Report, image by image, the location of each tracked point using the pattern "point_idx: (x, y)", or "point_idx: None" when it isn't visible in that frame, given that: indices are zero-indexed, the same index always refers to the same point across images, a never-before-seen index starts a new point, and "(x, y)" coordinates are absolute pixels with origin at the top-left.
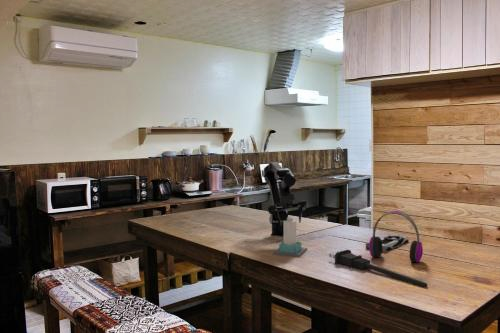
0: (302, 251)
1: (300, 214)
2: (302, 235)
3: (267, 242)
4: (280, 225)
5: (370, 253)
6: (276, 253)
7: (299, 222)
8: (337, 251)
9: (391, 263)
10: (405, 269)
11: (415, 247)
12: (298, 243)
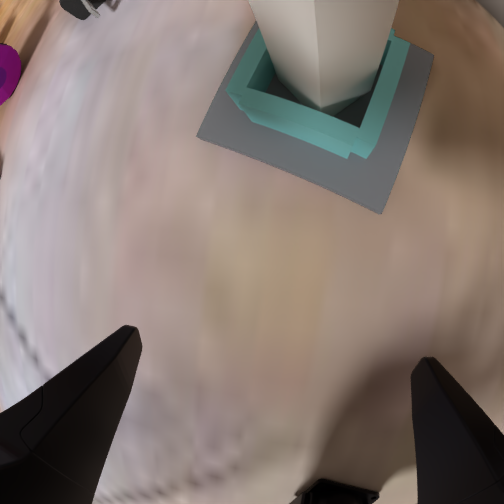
0: (241, 53)
1: (40, 399)
2: (200, 470)
3: (451, 358)
4: (430, 357)
5: (18, 55)
6: (411, 46)
7: (136, 328)
8: (90, 10)
9: (19, 39)
10: (25, 11)
11: None
12: (253, 56)
